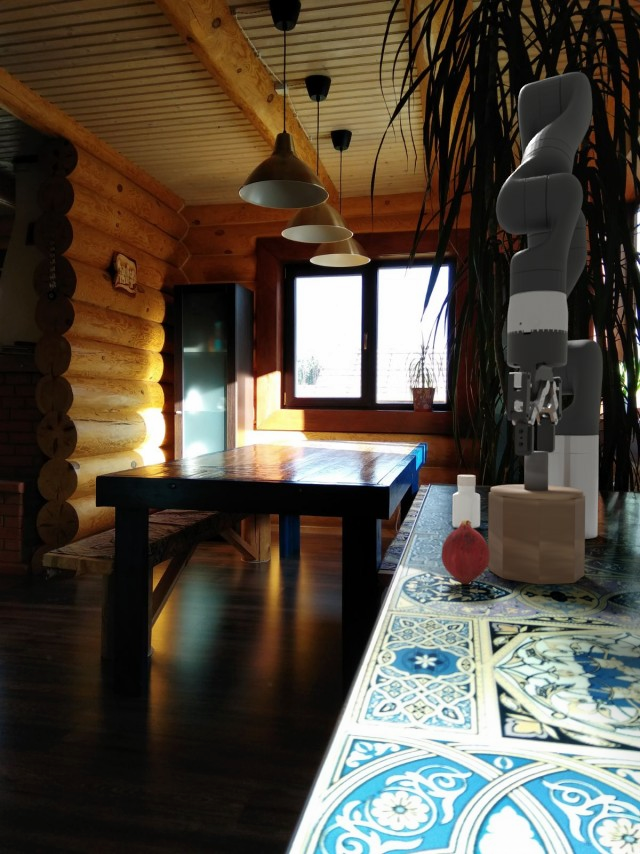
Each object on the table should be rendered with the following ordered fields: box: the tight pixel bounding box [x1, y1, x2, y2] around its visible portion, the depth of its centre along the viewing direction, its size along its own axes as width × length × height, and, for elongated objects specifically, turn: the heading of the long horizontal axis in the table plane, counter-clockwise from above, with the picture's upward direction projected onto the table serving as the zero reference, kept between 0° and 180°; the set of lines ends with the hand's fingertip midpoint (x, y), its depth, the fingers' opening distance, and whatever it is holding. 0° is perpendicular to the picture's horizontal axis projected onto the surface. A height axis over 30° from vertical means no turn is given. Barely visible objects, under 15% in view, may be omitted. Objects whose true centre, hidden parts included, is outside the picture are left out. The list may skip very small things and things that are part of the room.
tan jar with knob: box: [487, 450, 586, 585], centre depth 86 cm, size 12×12×16 cm
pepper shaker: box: [451, 474, 481, 529], centre depth 118 cm, size 4×4×10 cm
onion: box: [441, 519, 490, 585], centre depth 80 cm, size 6×6×8 cm
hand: (535, 453), depth 85 cm, fingers open, 8 cm apart
